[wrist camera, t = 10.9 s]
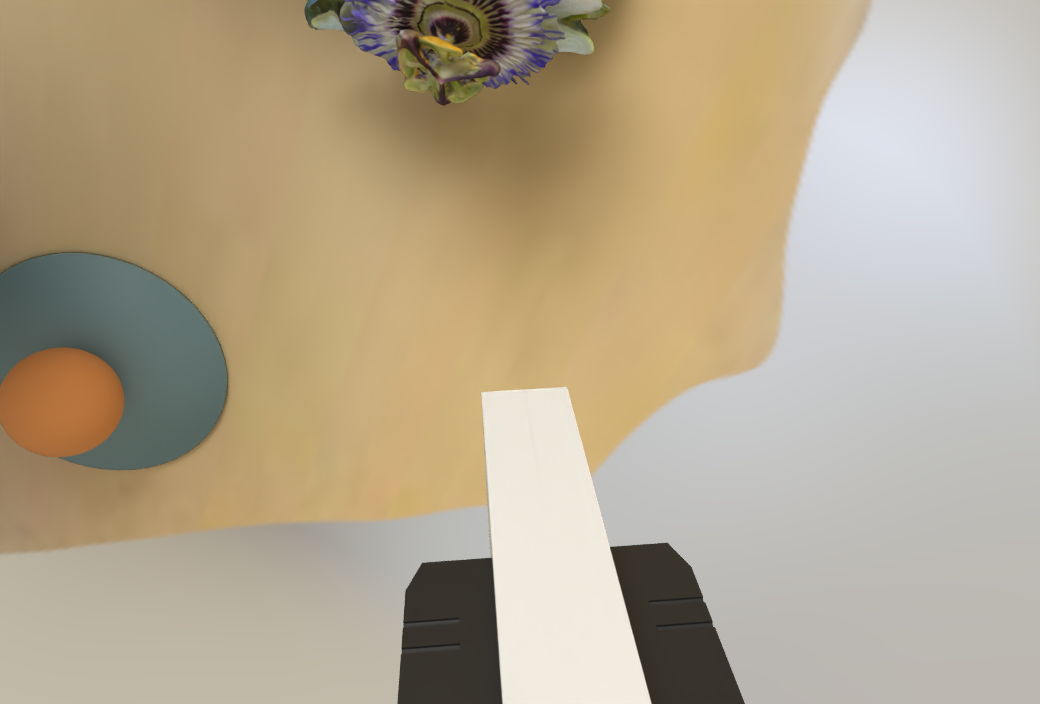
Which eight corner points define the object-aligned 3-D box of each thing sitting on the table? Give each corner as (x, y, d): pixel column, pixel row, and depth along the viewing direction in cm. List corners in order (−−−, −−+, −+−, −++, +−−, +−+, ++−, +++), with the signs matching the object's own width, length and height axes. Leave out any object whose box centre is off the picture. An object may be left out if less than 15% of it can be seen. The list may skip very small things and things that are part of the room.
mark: (-21, 451, 43) (-23, 453, 43) (-46, 231, 37) (-48, 232, 37) (222, 481, 45) (221, 483, 45) (233, 276, 40) (232, 278, 39)
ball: (163, 409, 42) (85, 395, 43) (117, 331, 38) (33, 319, 40) (93, 488, 38) (10, 469, 40) (34, 410, 34) (-54, 393, 36)
